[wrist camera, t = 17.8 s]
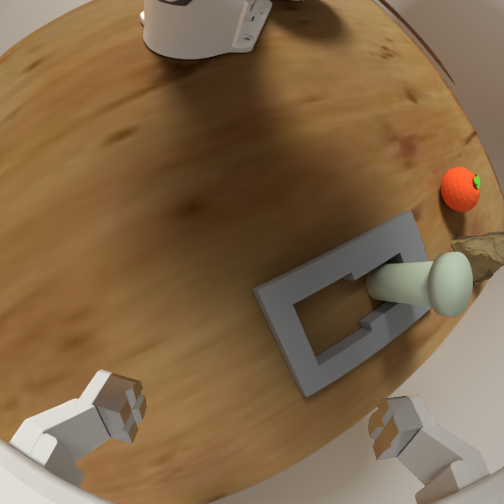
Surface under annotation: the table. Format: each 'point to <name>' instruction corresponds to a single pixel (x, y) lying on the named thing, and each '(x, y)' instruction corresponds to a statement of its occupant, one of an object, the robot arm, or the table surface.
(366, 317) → the keyhole board
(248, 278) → the table surface
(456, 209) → the clementine
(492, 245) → the rock
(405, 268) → the sage post
